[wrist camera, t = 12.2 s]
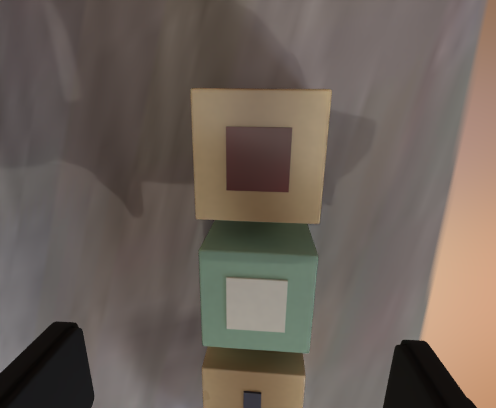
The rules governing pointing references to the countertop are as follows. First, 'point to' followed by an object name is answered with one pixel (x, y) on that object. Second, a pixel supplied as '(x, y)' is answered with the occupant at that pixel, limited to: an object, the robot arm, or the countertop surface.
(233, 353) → the block
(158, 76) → the countertop surface
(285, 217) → the block
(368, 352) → the countertop surface
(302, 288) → the block
